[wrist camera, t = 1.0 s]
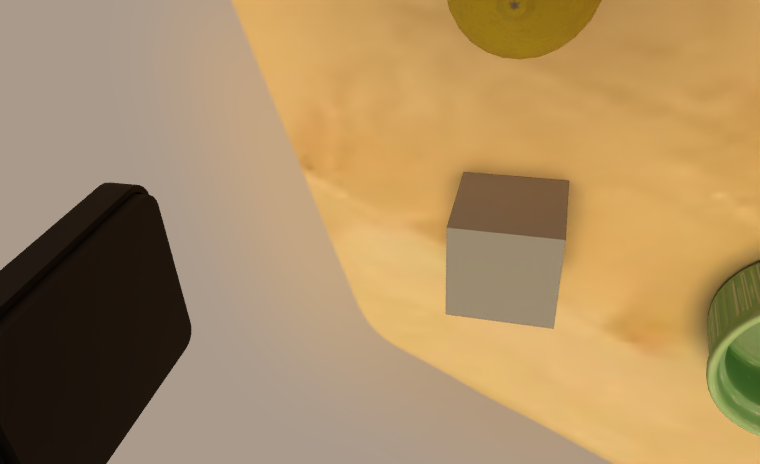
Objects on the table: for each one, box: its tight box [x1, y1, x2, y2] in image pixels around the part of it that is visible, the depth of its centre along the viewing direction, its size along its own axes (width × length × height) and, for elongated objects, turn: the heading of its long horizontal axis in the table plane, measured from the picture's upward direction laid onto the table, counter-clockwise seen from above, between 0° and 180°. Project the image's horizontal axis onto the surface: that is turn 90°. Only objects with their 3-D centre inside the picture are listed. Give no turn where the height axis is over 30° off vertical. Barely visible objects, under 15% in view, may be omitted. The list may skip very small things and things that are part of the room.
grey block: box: [446, 172, 569, 329], centre depth 32 cm, size 5×5×5 cm
